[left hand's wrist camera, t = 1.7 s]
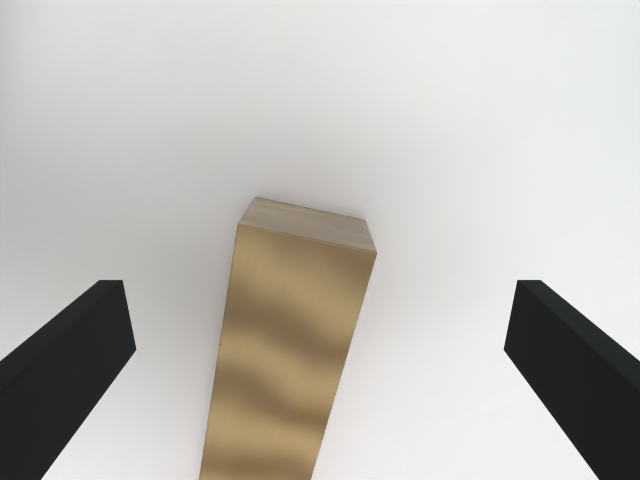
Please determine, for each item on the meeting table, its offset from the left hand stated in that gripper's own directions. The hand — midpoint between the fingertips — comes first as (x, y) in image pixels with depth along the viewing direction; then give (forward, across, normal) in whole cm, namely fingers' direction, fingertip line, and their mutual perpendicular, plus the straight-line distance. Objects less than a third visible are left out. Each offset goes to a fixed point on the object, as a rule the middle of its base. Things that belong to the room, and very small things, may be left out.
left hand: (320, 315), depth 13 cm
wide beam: (+17, -8, -32) cm, 37 cm away
